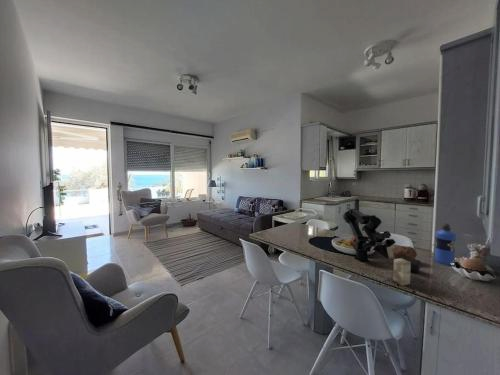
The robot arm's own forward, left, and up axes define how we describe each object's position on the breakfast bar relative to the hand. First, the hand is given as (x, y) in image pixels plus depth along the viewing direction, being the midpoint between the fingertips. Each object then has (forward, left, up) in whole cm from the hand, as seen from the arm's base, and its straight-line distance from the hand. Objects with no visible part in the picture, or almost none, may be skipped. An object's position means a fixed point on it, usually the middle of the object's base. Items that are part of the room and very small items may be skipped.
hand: (387, 258), depth 114 cm
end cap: (-2, +18, -10) cm, 21 cm away
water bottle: (-4, +50, -10) cm, 51 cm away
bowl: (-40, +12, -10) cm, 43 cm away
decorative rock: (-13, +28, -10) cm, 33 cm away
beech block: (+8, 0, -10) cm, 13 cm away
